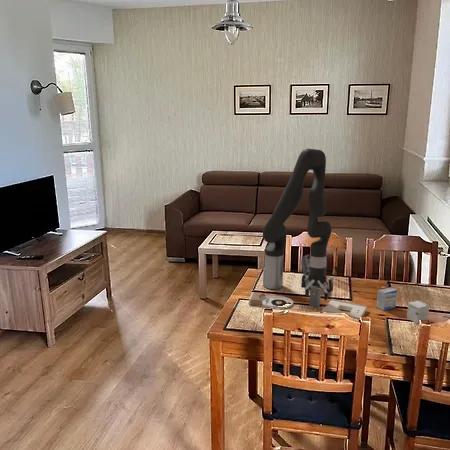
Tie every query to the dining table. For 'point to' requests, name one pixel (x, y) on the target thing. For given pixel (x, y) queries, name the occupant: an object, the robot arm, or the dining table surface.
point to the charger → (315, 297)
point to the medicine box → (386, 298)
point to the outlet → (345, 308)
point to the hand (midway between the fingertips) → (316, 298)
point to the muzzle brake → (306, 268)
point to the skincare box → (417, 311)
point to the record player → (268, 300)
